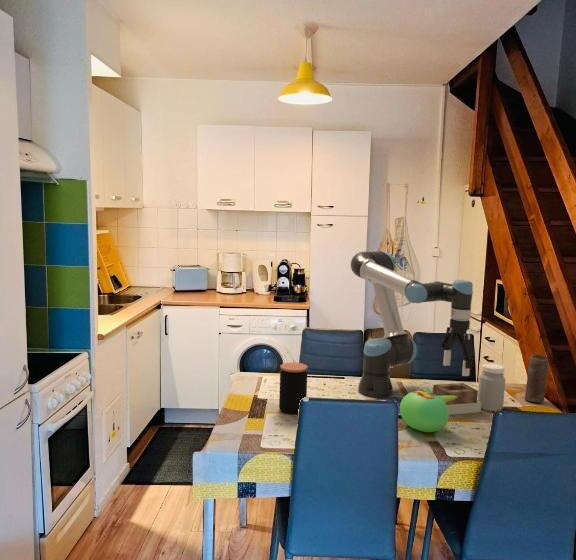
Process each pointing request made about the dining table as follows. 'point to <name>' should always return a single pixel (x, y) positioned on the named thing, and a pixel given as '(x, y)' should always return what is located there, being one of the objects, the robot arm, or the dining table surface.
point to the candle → (536, 378)
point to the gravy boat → (425, 410)
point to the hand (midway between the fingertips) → (455, 370)
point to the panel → (464, 408)
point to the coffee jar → (292, 387)
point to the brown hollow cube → (456, 393)
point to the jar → (491, 387)
